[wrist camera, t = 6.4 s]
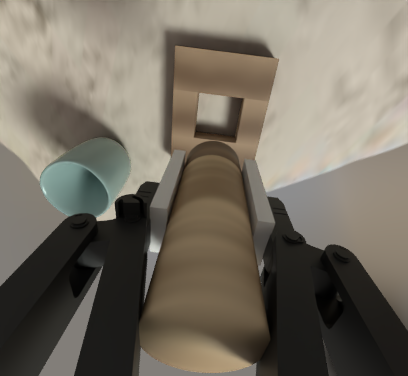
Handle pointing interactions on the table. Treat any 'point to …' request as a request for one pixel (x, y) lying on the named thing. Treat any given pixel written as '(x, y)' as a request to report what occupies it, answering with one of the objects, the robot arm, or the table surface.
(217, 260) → the peg
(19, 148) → the table surface
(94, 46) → the table surface
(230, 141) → the box with square hole
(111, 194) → the cup
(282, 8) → the table surface
